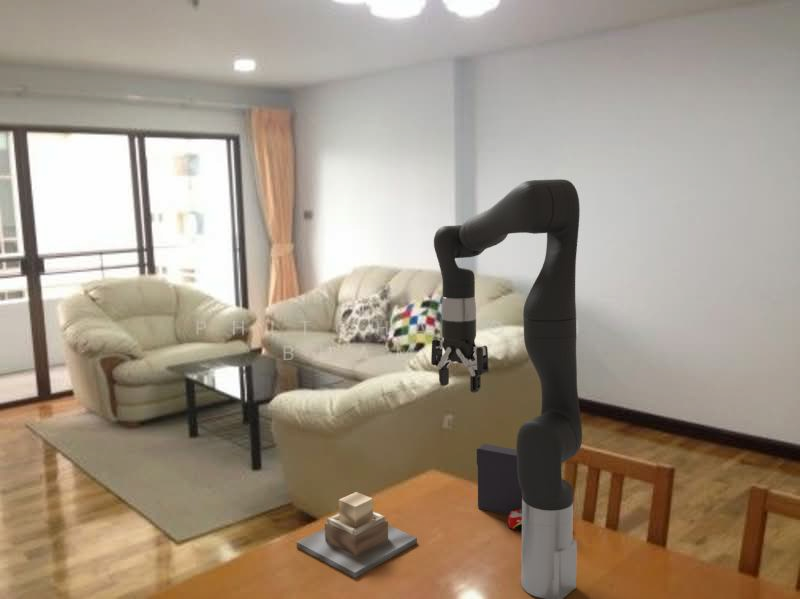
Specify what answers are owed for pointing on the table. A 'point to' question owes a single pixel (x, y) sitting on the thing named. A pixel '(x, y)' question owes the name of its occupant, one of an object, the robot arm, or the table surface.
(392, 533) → the plate
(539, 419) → the robot arm
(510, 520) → the race car
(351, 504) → the maple cube
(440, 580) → the table surface
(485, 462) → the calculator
